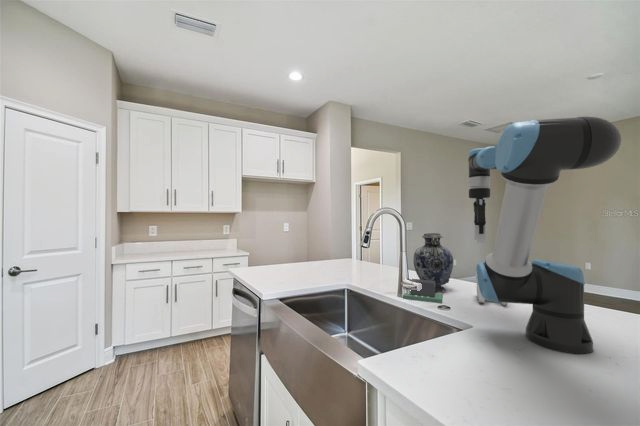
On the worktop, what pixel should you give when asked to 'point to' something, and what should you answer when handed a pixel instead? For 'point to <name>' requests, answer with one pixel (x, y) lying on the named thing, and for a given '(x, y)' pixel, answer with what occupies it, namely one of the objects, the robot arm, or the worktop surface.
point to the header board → (424, 297)
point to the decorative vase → (433, 261)
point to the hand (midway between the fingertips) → (479, 241)
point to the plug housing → (425, 288)
